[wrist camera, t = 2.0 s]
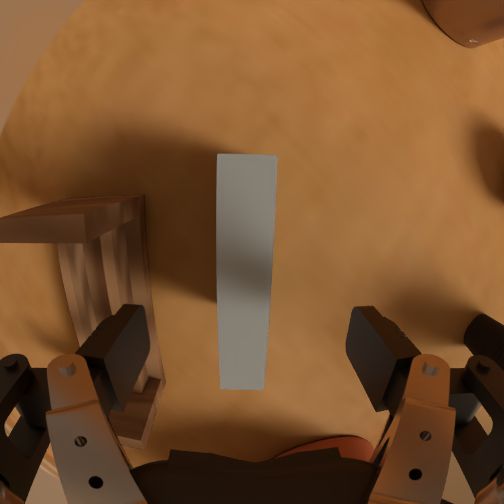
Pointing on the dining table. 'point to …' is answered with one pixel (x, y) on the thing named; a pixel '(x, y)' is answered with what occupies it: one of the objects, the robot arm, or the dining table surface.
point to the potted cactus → (340, 447)
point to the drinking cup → (486, 339)
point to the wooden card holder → (101, 282)
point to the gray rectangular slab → (244, 265)
